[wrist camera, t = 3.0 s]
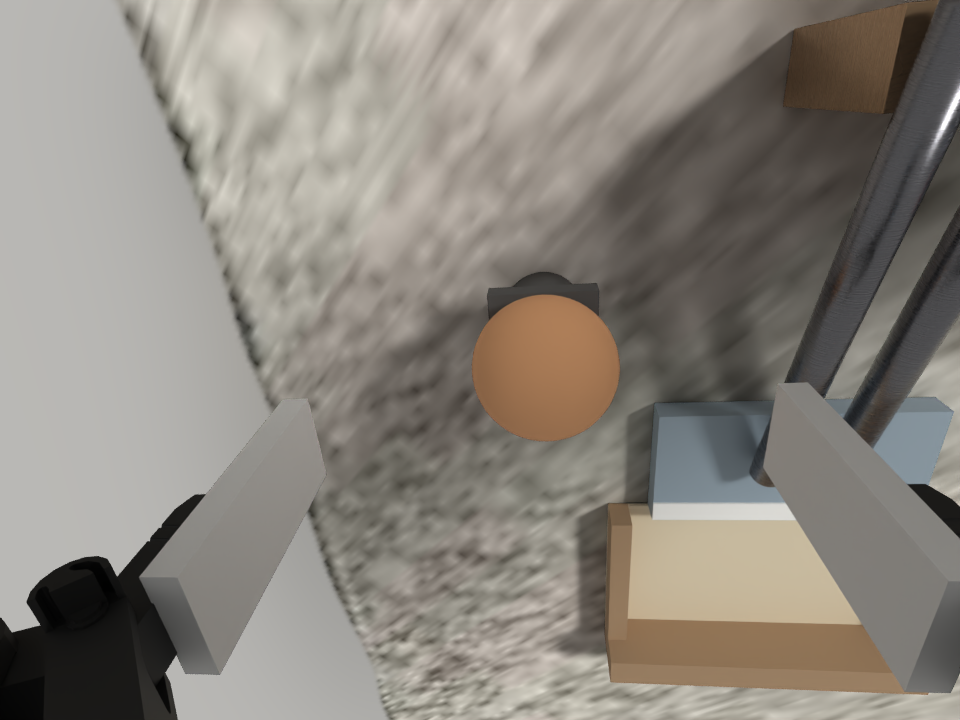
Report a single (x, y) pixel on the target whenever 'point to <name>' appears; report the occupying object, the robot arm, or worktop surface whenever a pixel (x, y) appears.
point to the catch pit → (730, 608)
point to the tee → (543, 291)
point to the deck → (734, 441)
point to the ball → (545, 367)
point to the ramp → (882, 196)
